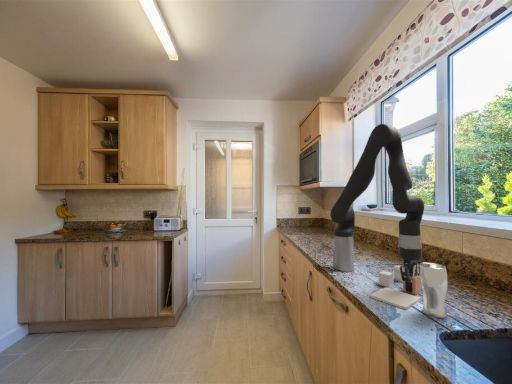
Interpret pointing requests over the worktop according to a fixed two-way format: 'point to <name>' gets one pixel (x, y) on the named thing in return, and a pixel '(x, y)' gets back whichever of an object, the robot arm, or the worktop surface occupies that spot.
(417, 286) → the terracotta block
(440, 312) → the beer glass
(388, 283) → the grey block
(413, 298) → the cream pad
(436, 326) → the worktop surface
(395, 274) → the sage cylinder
